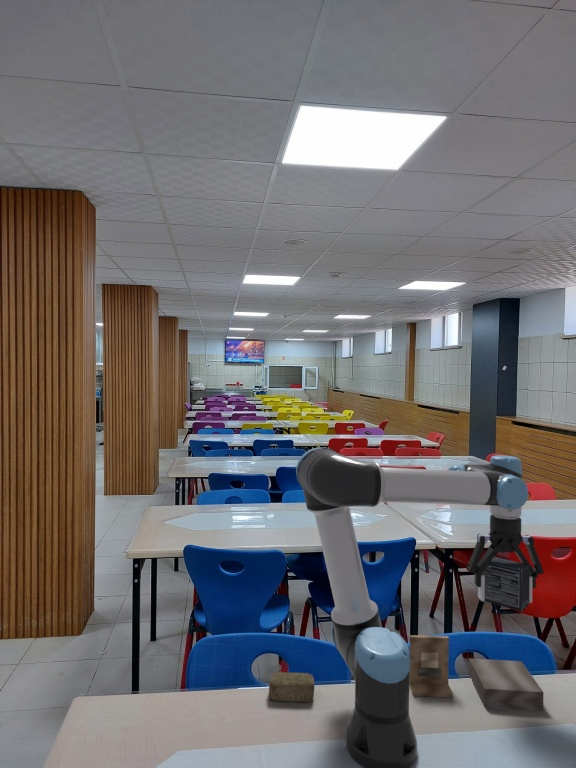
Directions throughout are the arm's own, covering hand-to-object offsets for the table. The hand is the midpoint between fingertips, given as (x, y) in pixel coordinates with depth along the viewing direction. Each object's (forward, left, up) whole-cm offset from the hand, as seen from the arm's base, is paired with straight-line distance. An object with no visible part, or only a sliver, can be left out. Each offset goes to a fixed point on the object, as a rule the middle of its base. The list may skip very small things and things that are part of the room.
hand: (504, 599), depth 131 cm
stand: (-19, 0, -24) cm, 30 cm away
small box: (0, 0, -1) cm, 1 cm away
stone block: (-55, -5, -24) cm, 60 cm away
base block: (0, 0, -24) cm, 24 cm away
